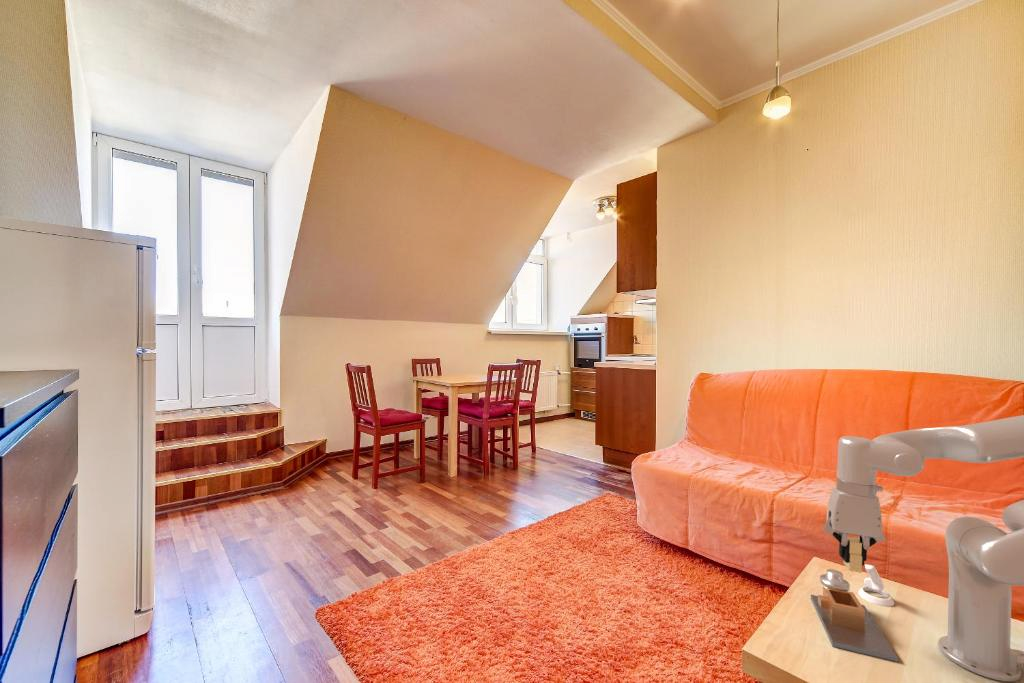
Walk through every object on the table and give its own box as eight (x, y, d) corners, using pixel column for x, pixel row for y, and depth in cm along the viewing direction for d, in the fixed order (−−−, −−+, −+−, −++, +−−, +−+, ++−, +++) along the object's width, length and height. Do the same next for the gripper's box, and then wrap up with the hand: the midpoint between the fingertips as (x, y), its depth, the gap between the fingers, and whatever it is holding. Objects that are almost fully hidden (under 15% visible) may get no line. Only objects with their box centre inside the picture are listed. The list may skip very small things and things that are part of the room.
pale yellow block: (854, 564, 107) (855, 536, 107) (861, 572, 103) (862, 544, 103) (843, 562, 108) (844, 535, 108) (849, 570, 104) (850, 542, 104)
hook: (847, 583, 118) (848, 560, 122) (861, 610, 121) (861, 587, 125) (882, 588, 112) (882, 565, 117) (896, 617, 115) (895, 593, 120)
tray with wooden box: (861, 606, 116) (862, 572, 116) (897, 662, 96) (898, 621, 96) (809, 595, 120) (809, 563, 120) (832, 646, 100) (833, 607, 100)
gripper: (888, 487, 106) (885, 560, 106) (812, 478, 112) (809, 547, 112) (904, 498, 99) (900, 576, 99) (821, 487, 105) (818, 562, 105)
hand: (852, 560), depth 106 cm, fingers closed on pale yellow block, 2 cm apart
